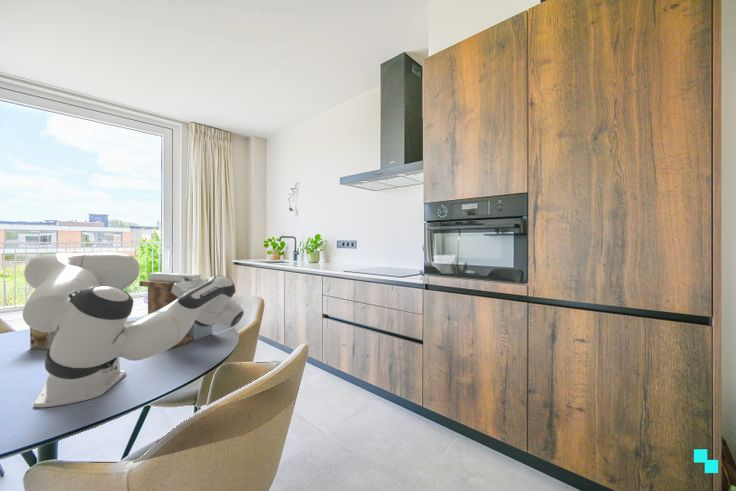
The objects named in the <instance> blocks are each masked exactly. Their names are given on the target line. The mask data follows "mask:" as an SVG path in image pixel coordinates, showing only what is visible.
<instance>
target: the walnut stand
mask: <svg viewBox="0 0 736 491" xmlns="http://www.w3.org/2000/svg"><path fill="white" fill-rule="evenodd" d="M175 283H178V282H164V281H150V280H149V279H147V280H139V284H138V286H139V287H144V288H147V314H150V313H153V312H155V311H157V310H159V309H161V308H163V307H165V306H166V305H168V304H170V303H171V302H173V301H175V300H176V299H178V297H177V296H175V295H174V294H173V293H172V292H171V290H172V287H173V285H174V284H175ZM192 342H193V340H192V337H190V336H185V337H184V338H183V339H182V340H181V341H180V342H179V343H178V344H176V345H175V346H173V347H172V348H170V349H169V350H172V349H175V348H178V347H181V346H184V345H186V344H188V343H192Z"/></svg>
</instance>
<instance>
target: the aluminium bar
mask: <svg viewBox="0 0 736 491" xmlns="http://www.w3.org/2000/svg"><path fill="white" fill-rule="evenodd" d="M179 277H185V278H186V279H185V281H187V282H188V281H196V280H201V278H202V275H201V274H196V273H195V274H192V273H178V272H177V273H176V272H175V273H174V272H173V273H172V272H157V271H156V272H148V280H150V281H164V282H178V283H181V282H180V281H179V280H178V279H179Z"/></svg>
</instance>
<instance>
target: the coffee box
mask: <svg viewBox="0 0 736 491" xmlns="http://www.w3.org/2000/svg"><path fill="white" fill-rule="evenodd" d="M29 328H30V329H29V331H30V332H29V335H30V336H29V348H30V349H33V350H34V349H35V350H36V349H39V350H49V349H50V348H51V345H52V343H53V340H54V338H55V335H56V333H57V331H54V332H42V331H38V330H35V329H33V328H31V327H29Z"/></svg>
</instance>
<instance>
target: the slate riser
mask: <svg viewBox="0 0 736 491" xmlns="http://www.w3.org/2000/svg"><path fill="white" fill-rule="evenodd" d="M210 335H213V325H211V326H207V327H201V326H199V325H197V324H195V323H193V325H192V327H191V328H190V330H189V332H188V333H187V335H186V336H190V337H192V342H193V341H197V340H199V339H202V338H205V337H207V336H210Z"/></svg>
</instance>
